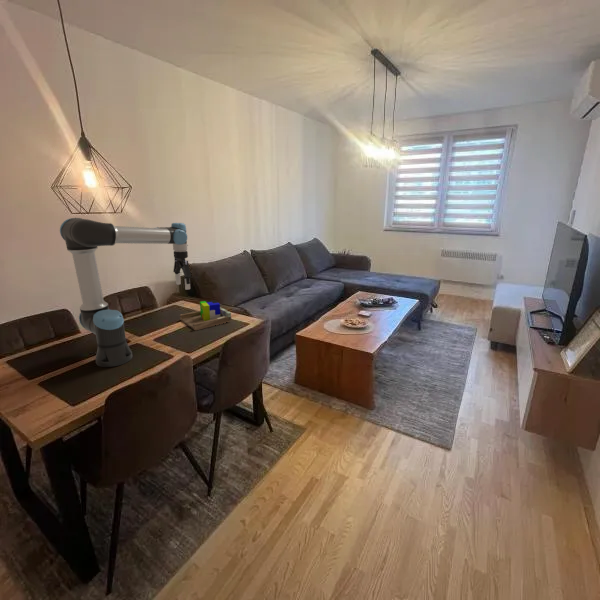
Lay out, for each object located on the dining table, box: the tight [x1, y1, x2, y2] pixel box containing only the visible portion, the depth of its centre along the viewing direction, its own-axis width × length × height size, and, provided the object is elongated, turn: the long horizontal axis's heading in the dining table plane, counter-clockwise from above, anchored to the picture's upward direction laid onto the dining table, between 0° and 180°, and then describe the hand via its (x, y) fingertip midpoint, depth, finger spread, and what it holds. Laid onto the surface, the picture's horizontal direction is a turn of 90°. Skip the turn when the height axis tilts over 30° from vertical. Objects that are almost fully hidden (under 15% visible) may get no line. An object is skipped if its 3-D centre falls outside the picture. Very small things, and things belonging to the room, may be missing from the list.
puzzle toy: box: [199, 299, 221, 321], centre depth 208 cm, size 10×10×10 cm
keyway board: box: [179, 306, 232, 331], centre depth 206 cm, size 22×24×6 cm
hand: (183, 286), depth 192 cm, fingers open, 13 cm apart
